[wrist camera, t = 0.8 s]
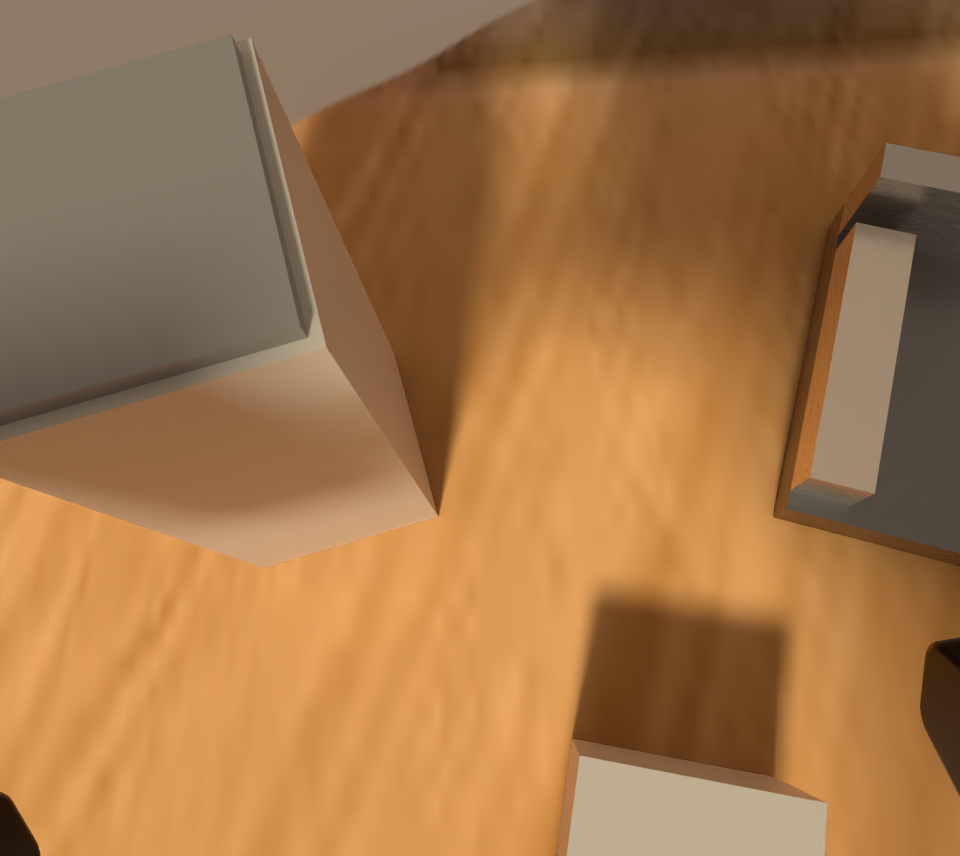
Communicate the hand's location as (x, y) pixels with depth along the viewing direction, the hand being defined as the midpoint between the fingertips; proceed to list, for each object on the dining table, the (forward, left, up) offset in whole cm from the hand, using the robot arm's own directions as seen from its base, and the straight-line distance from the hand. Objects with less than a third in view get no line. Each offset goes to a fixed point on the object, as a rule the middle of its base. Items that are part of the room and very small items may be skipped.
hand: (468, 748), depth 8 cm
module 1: (+7, +4, -14) cm, 16 cm away
